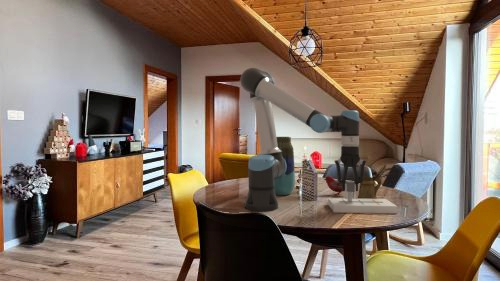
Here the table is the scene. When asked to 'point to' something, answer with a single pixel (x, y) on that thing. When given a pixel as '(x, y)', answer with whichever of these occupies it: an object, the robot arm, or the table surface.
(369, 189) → the brown watering can
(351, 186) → the fader
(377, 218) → the table surface
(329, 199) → the board
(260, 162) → the robot arm
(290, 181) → the vase
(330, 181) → the decorative bird figurine
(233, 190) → the table surface
